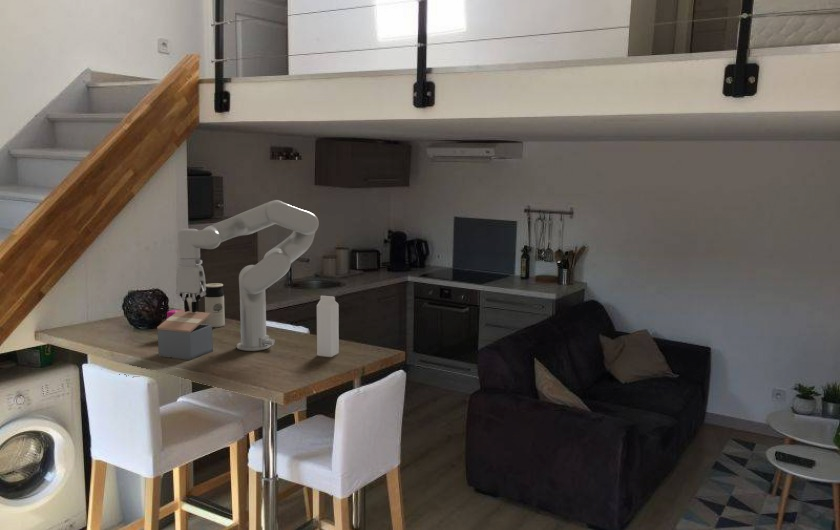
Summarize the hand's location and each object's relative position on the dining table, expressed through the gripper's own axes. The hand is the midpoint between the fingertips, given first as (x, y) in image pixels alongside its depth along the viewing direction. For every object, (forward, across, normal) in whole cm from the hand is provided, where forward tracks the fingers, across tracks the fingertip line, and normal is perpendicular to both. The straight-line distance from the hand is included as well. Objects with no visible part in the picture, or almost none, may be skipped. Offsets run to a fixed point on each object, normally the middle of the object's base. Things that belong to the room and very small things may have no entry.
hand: (191, 311), depth 260 cm
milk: (+16, -49, -14) cm, 53 cm away
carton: (+15, 0, +4) cm, 16 cm away
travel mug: (+15, +17, -38) cm, 44 cm away
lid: (+3, 0, +4) cm, 5 cm away
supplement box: (+15, +17, -13) cm, 26 cm away
